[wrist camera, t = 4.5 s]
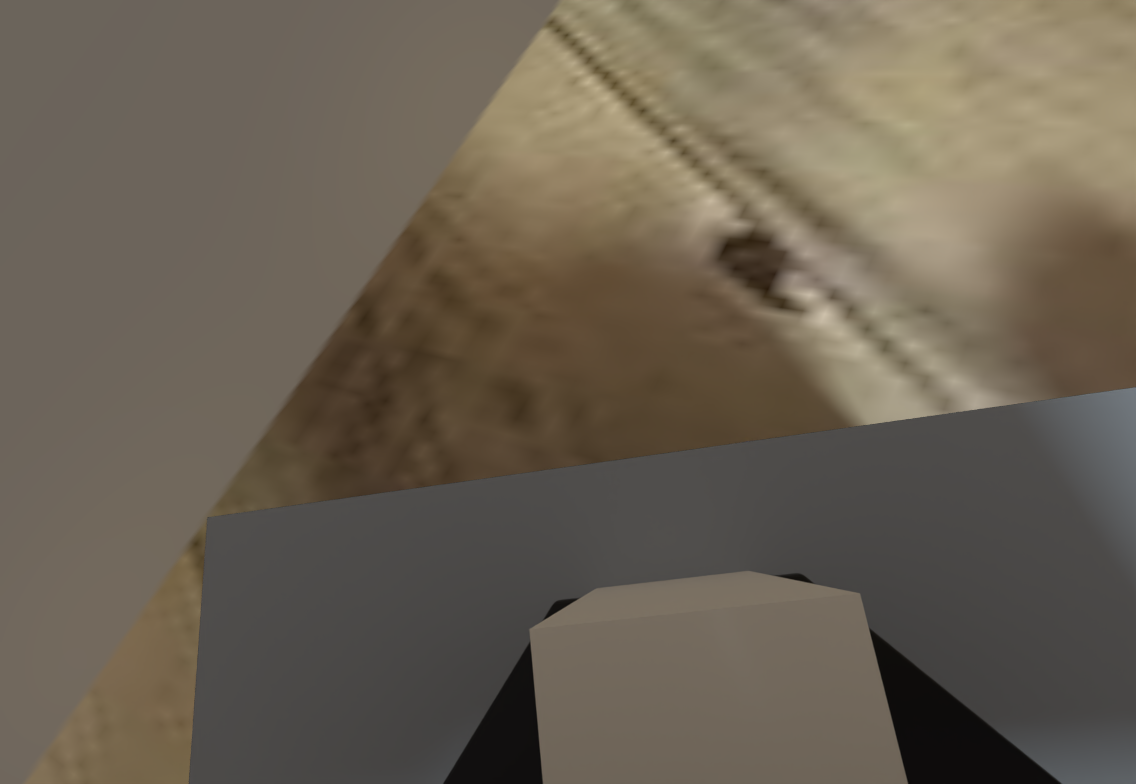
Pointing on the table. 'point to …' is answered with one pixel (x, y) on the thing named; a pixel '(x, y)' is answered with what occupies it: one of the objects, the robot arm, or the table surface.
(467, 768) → the robot arm
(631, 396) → the table surface
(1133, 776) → the carton lid
